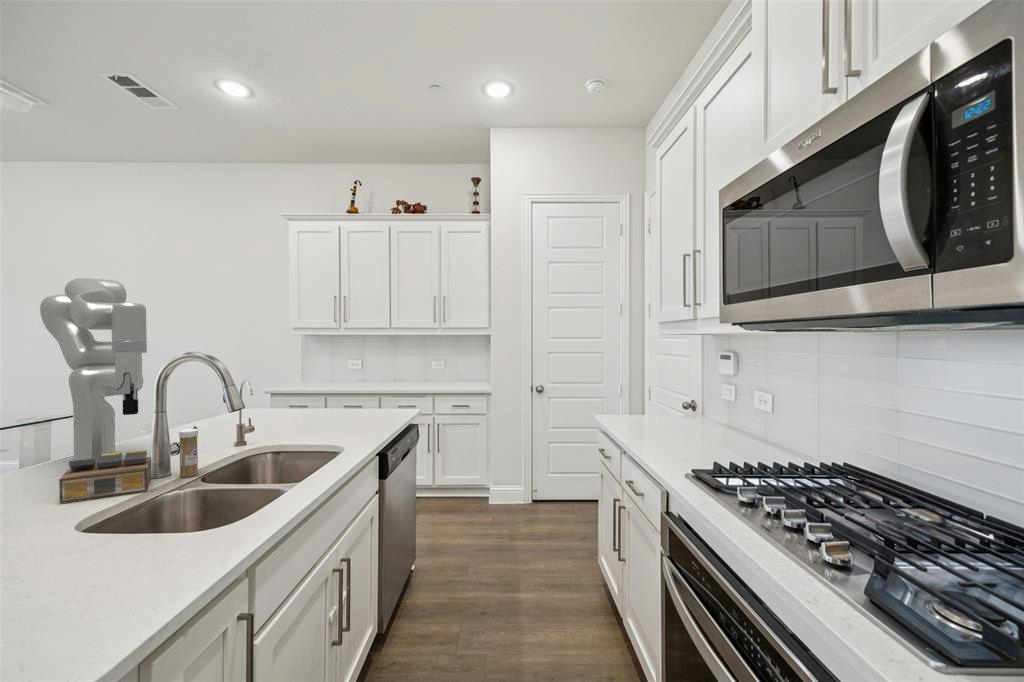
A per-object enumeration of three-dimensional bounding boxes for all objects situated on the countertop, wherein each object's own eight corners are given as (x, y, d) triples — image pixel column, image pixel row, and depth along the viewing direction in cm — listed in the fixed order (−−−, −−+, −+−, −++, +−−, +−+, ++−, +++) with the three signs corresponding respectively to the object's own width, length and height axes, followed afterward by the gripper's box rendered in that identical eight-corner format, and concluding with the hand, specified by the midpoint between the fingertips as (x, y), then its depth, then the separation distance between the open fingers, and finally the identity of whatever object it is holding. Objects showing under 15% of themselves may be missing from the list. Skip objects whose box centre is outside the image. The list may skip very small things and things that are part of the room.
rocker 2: (101, 461, 130) (101, 454, 129) (122, 459, 132) (121, 451, 132) (97, 470, 125) (97, 462, 124) (119, 468, 127) (118, 460, 127)
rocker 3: (127, 458, 133) (126, 451, 132) (147, 456, 135) (146, 449, 135) (124, 467, 128) (124, 459, 127) (145, 465, 130) (144, 457, 130)
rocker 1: (73, 469, 126) (74, 461, 127) (95, 467, 129) (96, 458, 129) (68, 469, 121) (69, 460, 122) (91, 467, 124) (91, 458, 124)
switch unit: (72, 488, 128) (72, 465, 128) (151, 477, 138) (151, 457, 138) (59, 504, 116) (58, 479, 116) (146, 491, 126) (146, 469, 125)
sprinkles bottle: (193, 477, 138) (192, 431, 138) (176, 478, 138) (175, 431, 137) (201, 472, 143) (200, 428, 142) (184, 473, 142) (184, 428, 142)
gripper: (117, 347, 136) (118, 411, 136) (106, 348, 123) (107, 419, 124) (150, 347, 140) (151, 409, 140) (142, 348, 127) (143, 416, 128)
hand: (130, 414), depth 132 cm, fingers closed
